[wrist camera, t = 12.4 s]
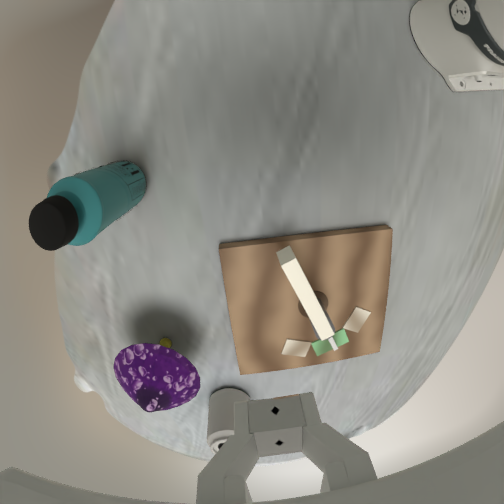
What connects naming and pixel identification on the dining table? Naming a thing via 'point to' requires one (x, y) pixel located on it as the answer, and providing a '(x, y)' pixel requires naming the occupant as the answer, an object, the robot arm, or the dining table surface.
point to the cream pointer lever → (307, 296)
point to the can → (222, 416)
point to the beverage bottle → (86, 204)
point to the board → (290, 307)
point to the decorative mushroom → (156, 376)
